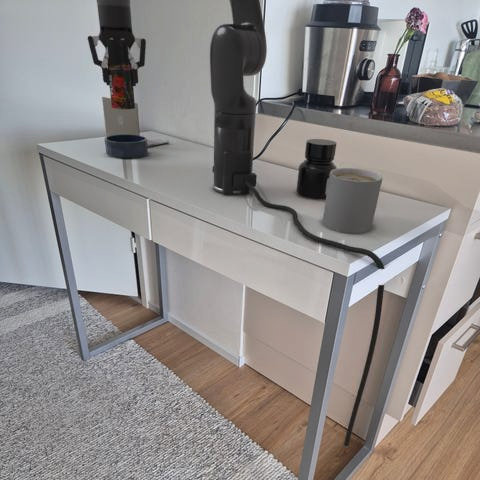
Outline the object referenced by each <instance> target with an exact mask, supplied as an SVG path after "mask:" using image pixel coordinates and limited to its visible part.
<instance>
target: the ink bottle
mask: <svg viewBox="0 0 480 480" xmlns="http://www.w3.org/2000/svg"><path fill="white" fill-rule="evenodd" d="M336 149H337V142H336V141H334V140H331V139H323V138H310V139H307V140H306V143H305V151H304V158H305V159H304V160H303V161H301V163H300V164H299V166H298V173H297V182H296V194H298V195H299V196H300V197H303V198H305V199H315V200H326V195H327V189H328V182H329V176H330V172H331V171H332V170H333V169H338V168H337V166H336V164H335V163H334V160H335V156H336Z"/></svg>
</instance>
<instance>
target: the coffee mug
mask: <svg viewBox="0 0 480 480" xmlns="http://www.w3.org/2000/svg"><path fill="white" fill-rule="evenodd" d="M382 183H383V175H382V174H380V173H379V172H375V171H373V170H369V169H364V168H356V167H339V168H337V169H333V170H332V171H331V172H330V176H329V182H328V189H327V195H326V199H325V203H324V209H323V215H322V222H321V223H322V224H323V226H325V227H326V228H328V229H330V230H333V231H335V232H338V233H339V232H340V233H344V234H345V233H346V234H363V233H367V232H369V231H371V230H372V227H373V224H374V219H375V215H376V210H377V206H378V201H379V196H380V191H381V187H382Z"/></svg>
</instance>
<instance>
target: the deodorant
mask: <svg viewBox="0 0 480 480" xmlns="http://www.w3.org/2000/svg"><path fill="white" fill-rule="evenodd" d="M105 41H106V48H105V47H104V48H105V50H106V49H107V47H108V57H109V58H108V63H107V68H108V76H109V85H108V86H109V96H110V98H111V105H112V108H114V109H134V108H135V103H136V101H135V89H134V86H133V78H132V65H131V63H130V59H129V53H128V48H129V40H115V39H114V40H113V39H105ZM129 50H130V52H131V51H132V50H131V49H130V48H129ZM131 53H132V52H131Z"/></svg>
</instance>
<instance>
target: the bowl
mask: <svg viewBox="0 0 480 480" xmlns="http://www.w3.org/2000/svg"><path fill="white" fill-rule="evenodd" d="M104 146H105V147H104V148H105V153H106V155H107V156H110V157H112V158H117V159H137V158H142V157H144V156H146V155H148V154H149V149H148V148H149V147H148V146H147V138H146V137H144V136H140V135H131V134H120V135H111V136H105V137H104Z"/></svg>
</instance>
